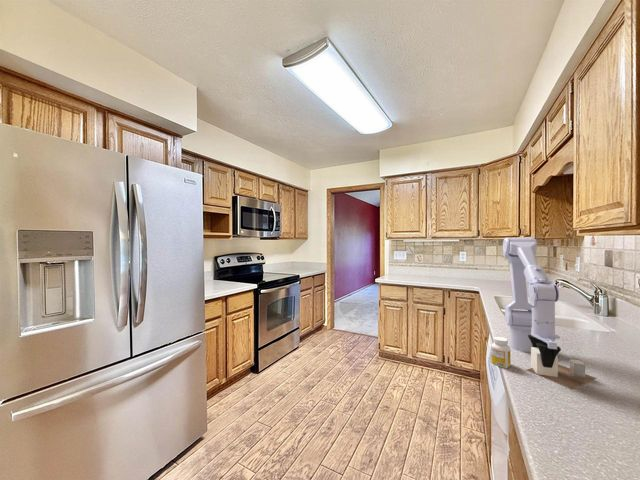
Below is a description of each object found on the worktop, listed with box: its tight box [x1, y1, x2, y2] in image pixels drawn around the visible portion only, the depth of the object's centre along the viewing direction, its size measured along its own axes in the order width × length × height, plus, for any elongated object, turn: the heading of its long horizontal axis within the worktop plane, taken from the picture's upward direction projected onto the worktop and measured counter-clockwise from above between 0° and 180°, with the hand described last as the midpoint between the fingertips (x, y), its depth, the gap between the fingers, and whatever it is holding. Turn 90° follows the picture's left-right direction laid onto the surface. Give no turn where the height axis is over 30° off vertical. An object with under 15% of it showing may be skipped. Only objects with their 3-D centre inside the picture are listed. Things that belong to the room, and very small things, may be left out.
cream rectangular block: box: [530, 347, 559, 377], centre depth 86 cm, size 5×5×7 cm
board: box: [526, 364, 597, 390], centre depth 84 cm, size 14×12×1 cm
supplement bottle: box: [490, 336, 511, 369], centre depth 91 cm, size 5×5×10 cm
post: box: [569, 359, 586, 379], centre depth 83 cm, size 3×3×4 cm
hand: (543, 362), depth 86 cm, fingers open, 6 cm apart
